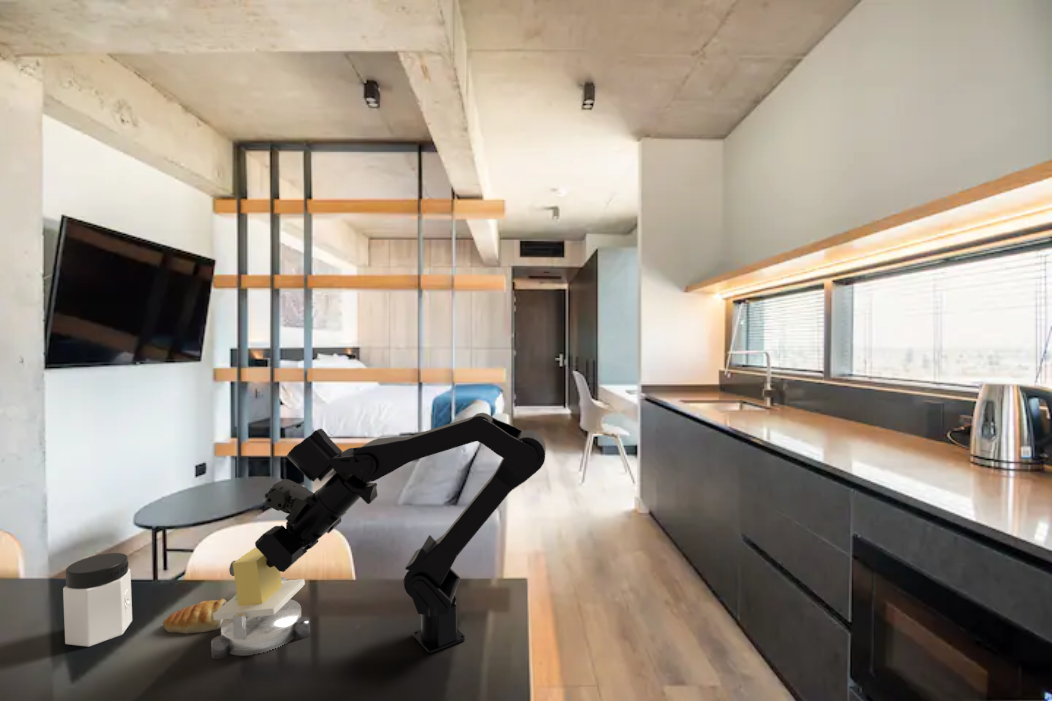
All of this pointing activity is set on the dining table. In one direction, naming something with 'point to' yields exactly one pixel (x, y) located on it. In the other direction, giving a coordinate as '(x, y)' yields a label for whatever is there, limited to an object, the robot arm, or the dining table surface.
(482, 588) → the dining table surface
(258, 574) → the instrument
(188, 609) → the pastry
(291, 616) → the tribrach base
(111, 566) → the jar
